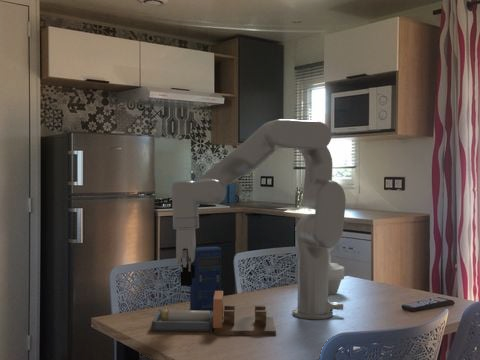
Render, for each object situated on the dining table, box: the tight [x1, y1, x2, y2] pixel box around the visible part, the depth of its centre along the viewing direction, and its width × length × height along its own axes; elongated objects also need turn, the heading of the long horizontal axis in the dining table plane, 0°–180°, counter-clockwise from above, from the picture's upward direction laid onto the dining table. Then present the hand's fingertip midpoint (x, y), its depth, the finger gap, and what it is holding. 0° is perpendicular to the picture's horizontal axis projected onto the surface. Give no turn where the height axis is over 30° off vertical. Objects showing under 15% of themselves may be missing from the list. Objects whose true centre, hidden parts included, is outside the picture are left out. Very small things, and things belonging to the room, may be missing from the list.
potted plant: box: [327, 237, 346, 296], centre depth 202 cm, size 13×12×25 cm
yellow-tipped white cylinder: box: [161, 309, 211, 322], centre depth 159 cm, size 14×4×4 cm
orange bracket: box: [212, 290, 224, 329], centre depth 156 cm, size 2×10×8 cm, turn 0°
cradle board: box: [213, 304, 277, 336], centre depth 156 cm, size 17×14×6 cm
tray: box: [151, 309, 214, 333], centre depth 158 cm, size 17×13×3 cm
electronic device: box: [189, 245, 222, 311], centre depth 176 cm, size 10×5×20 cm, turn 121°
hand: (188, 281), depth 158 cm, fingers open, 9 cm apart
